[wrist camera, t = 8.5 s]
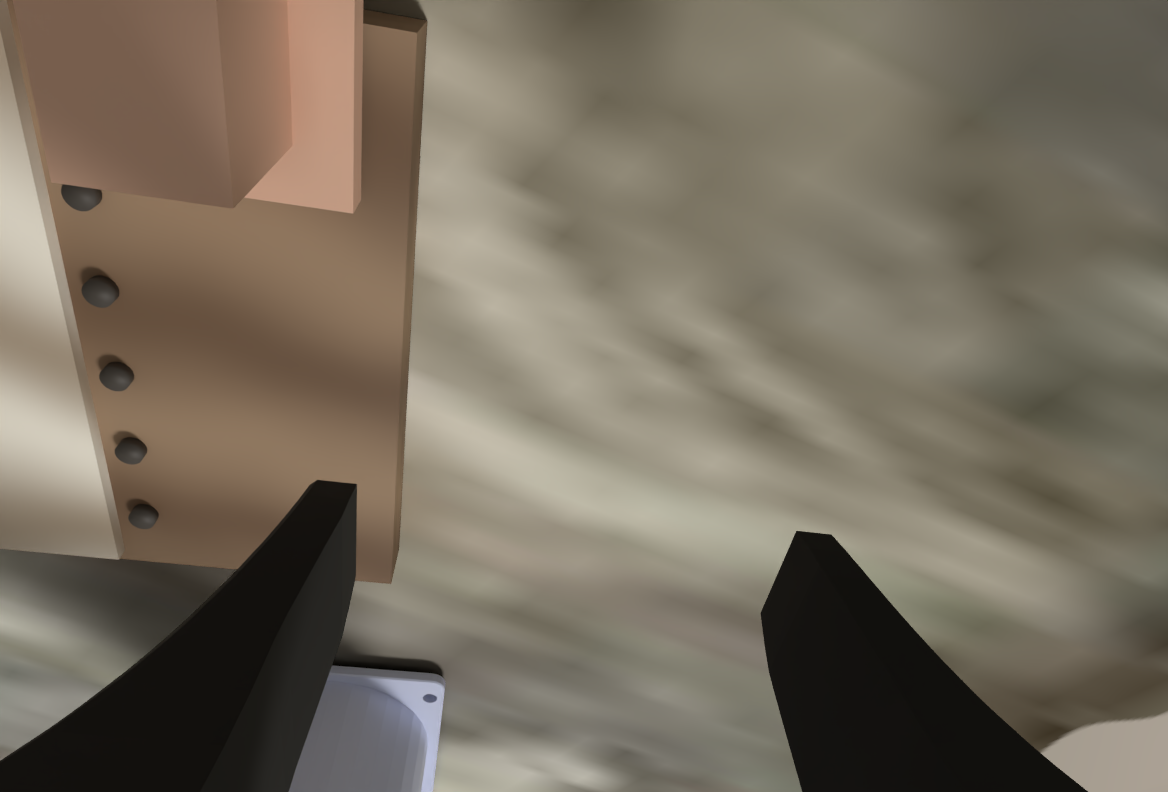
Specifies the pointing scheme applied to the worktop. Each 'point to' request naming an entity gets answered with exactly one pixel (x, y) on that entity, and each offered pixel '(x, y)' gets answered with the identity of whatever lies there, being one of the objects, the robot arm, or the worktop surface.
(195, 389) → the board
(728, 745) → the worktop surface
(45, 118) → the peach plate with block
